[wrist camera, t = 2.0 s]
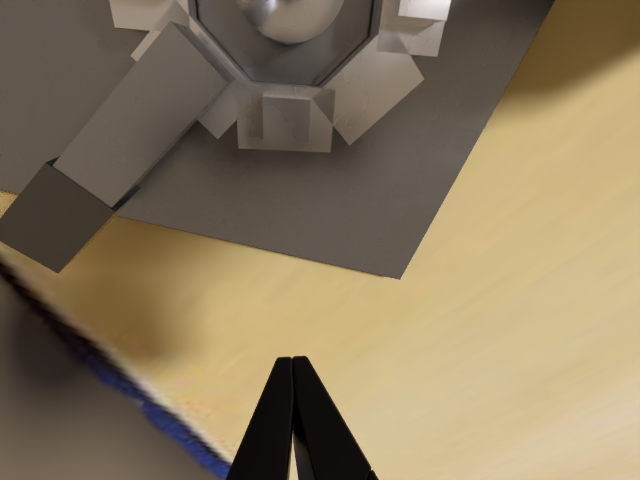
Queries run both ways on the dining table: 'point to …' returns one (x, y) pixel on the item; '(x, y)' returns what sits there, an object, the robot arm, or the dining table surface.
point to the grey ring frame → (207, 114)
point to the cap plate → (271, 165)
